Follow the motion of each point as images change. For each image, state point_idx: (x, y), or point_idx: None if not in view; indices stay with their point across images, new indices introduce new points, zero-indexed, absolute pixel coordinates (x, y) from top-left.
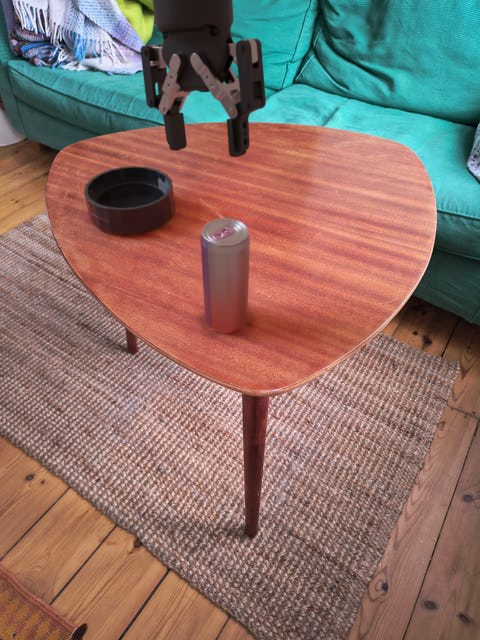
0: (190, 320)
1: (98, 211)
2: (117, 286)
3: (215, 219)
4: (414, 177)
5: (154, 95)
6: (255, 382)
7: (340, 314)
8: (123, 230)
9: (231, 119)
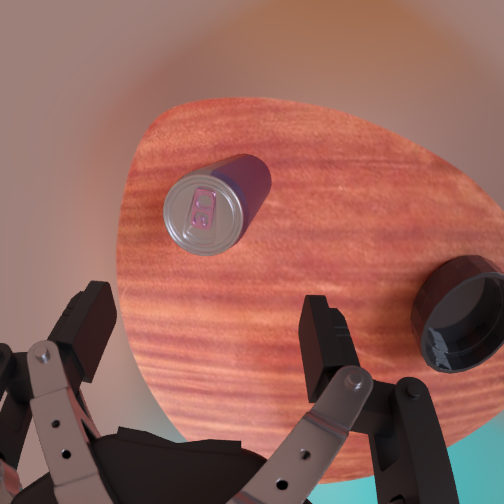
0: (284, 156)
1: (490, 268)
2: (407, 168)
3: (235, 239)
4: None
5: (398, 416)
6: (168, 118)
7: (147, 253)
8: (453, 263)
9: (60, 344)
